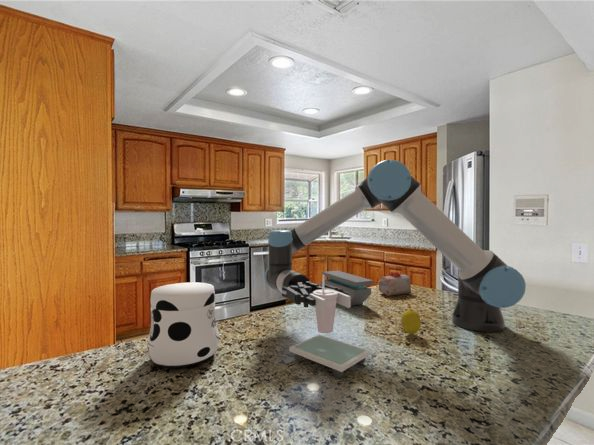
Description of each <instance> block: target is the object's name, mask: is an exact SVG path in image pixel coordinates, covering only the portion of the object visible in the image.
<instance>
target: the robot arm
mask: <svg viewBox="0 0 594 445" xmlns="http://www.w3.org/2000/svg"><path fill="white" fill-rule="evenodd" d="M381 204H382V205H383V206H384V207H385V208H386V209H387V210H388V211H390V212H391V213H392V214H395V213H397V214H400V215H401V216H402V217H403V218H404V219H405V220H406V221H407V222H409V223H410V224H411V225H412V227H413V228H414V229H416V230H417V231H418V232H419V233H420V234H421V235H422V237H424V238H425V239H426V240H427V241H428V242H429V243H430V244H431V245H432V246H433V247H435V249H437V250H438V251H439V252H440V254H442V255H443V256H444V257H445V258H446V259H447V260H448V261H449V262H450V263H451V264H452V265H454V267H455V268H456V269H457V271H458V273H457V274H458V275H457V278H458V279H457V281H458V282H457V283H458V284H457V290H458V292H457V301H456V303H455V306H454V309H453V312H452V315H451V316H452V317H451V319H452V323H453V324H454V325H456V326H458V327H460V328H463V329H466V330H471V331H476V332H481V333H482V332H485V333H486V332H487V333H497V332H503V331H504V330H505V326H506V325H505V318H504V315H503V312H502V310H501V309H505V308H511V307H512V306H515V305H516V304H518V303H519V302H520V301H521V300H522V299H523V297H524V296H525V293H526V286H527V285H526V281H525V279H524V277H523V274H521V273H520V272H519V270H517V269H516V268H514V267H513V266H509V265H508V264H506V263H505V262H504V261H503V260H502V259H501V258H500V257H499V256H498V255H497V254H495V253H494V252H493V250H485V249H482V248H481V247H480V246H479V245H478V244H477V243H476V242H475V241H474V240H473V239H472V238H471V237H469V236H468V235H467V234H466V233H465V232H464V231H463V230H462V229H461V228H459V226H458V225H457V224H455V223H454V221H452V219H450V218H449V217H448V215H446V214H445V213H444V212H443V211H442V210H440V209H439V207H437V206H436V204H434V203H433V202H432V201H431V200H430V199H429V198H428V197H427V196H426V195H425V194H424V193H422V185H421V183H420V182H419V181H418V180H417V179H416V178H415V177H413V175H412V174H411V172H410V170H409V168H408V167H407V166H406V165H405V164H404V163H403V162H401V161H398V160H395V159H385V160H382V161H379V162H378V163H376V164H375V165H374V166H373V167H372V168H371V169H370V171H369V172H368V174H367V177H366V178H365V179H364V180H362V181H361V182H359V183H358V184H356V186H355V189H354V190H352V191H351V192H349V193H347V194H345V195H344V196H342V197H341V198H340V199H338V200H336V201H335V202H333V203H332V204H330V205H329V206H327V207H326V208H324V209H323V210H321V211H320V212H318V213H316V214H315V215H313V216H312V217H310V218H308V219H307V220H305V221H304V222H302V223H300V224H299V225H297V226H296V227H294V228H293V229H291V230H289V229H275V230H270V231H269V233H268V240H267V243H268V268H266V270H265V272H264V276H263V278H264V282H265V283H266V284H267V286H269V288H271V289H273V290H275V291H278V292H279V293H281V297H284V298H286V299H287V300H289V301H291V302H292V303H294V304H295V305H298V306H299V305H301V304H302V305H303V308H309V306H311V307H313V308H314V309H315V308H317V309H318V310H320V311H322V312H325V311H326V300H325V299H323V298H321V297H318V296H316V295H314V294H313V291H315V290H320V289H322V282H320V283H319V284H318V283H314V282H312V281H310V280H309V277H308V276H306V275H305V274H302V273H300V272H298V271H295V270H293V255H294V254H296V253H297V252H298V251H300V250H302V249H303V248H305V247H306V246H308V245H309V244H311V243H312V242H314V241H316V240H318V239H319V238H320V237H323V236H324V235H325V234H327V233H329V232H331V231H333V230H334V229H335V228H337V227H339V226H340V225H342V224H344V223H345V222H347V221H349V220H350V219H351V218H354V217H355V216H357V215H358V214H360V213H361V212H363V211H365V210H366V209H369V210H372V209H374V208H375V207H377V206H379V205H381ZM324 289H329V290H335V291H337V292H338V297H337V302H336V304H339V305H340V306H343V307H345V308H347V309H349V308H351V307H352V306H351V296H348V295H346V294H343V289H341V288H338V287H334V286H331V285H328V284H326V283H324Z"/></svg>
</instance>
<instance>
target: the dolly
mask: <svg viewBox="0 0 594 445" xmlns="http://www.w3.org/2000/svg"><path fill="white" fill-rule="evenodd" d="M288 349H289V352H291V353H292V354H293V357H294V359H295V361H296V362H297V363H300V362H303V361H304V360H305V359H308V360H310V361H313V362H315V363H318V364H321V365H323V366H326V367H328V368H331V369H332V374H333V376H334V378H335V379H340V378H342V377H344V375H345V371H346V370H347V369H349V368H351V367H353V366H354V365H356V364H357V365H360V366H361V365H363V364H365V363H366V360H367V359H366V358H367V357H369V356H370V355H371V350H370V349H367V348H364V347H361V346H358V345H356V344H355V345H354V344H351V343H348V342H345V341H342V340H338V339H336V338H332V337H330V336H327V335H323V334H320V333H319V334H317V335H315V336H312V337H310V338H308V339H306V340H303V341H301V342H299V343H296V344H294V345H292V346H289V347H288Z"/></svg>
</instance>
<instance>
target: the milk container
mask: <svg viewBox="0 0 594 445" xmlns="http://www.w3.org/2000/svg"><path fill="white" fill-rule="evenodd" d="M215 293H216V292H215V286H214V285H213V284H211V283H207V282H196V281H195V282H189V281H188V282H179V283H178V282H177V283H170V284H164V285H161V286H157V287H155V288H153V289H152V290H151V292H150V300H149V301H150V329H149V333H148V337H147V341H146V342H147V344H146V345H147V346H146V347H147V354H148V356H149V359H150V361H151V362H152V363H154V364H155V365H157V366H159V367H162V368H168V369H172V368H173V369H175V368H178V369H179V368H186V367H190V366H195V365H198V364H202V363H203V362H205V361H207V360H209V359H211V358H212V357H213V356H214V355H215V354H216V352H217V350H218V347H219V342H220V341H219V340H220V332H219V327H218V324H217V322H216V301H215V300H216V299H215V298H216V294H215Z"/></svg>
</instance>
